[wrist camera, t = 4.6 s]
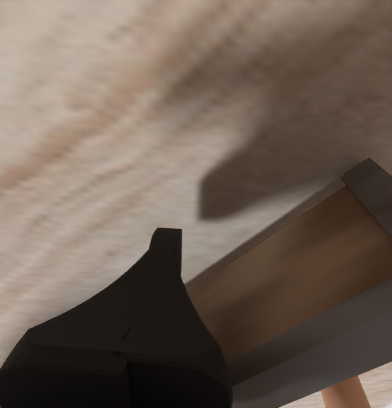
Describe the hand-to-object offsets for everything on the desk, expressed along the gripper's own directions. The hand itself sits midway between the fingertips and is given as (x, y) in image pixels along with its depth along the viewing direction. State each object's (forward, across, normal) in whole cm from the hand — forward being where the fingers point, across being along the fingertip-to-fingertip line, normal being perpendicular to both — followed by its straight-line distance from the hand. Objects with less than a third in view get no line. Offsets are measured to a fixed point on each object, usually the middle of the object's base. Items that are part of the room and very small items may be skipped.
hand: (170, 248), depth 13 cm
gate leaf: (+1, -3, +2) cm, 4 cm away
